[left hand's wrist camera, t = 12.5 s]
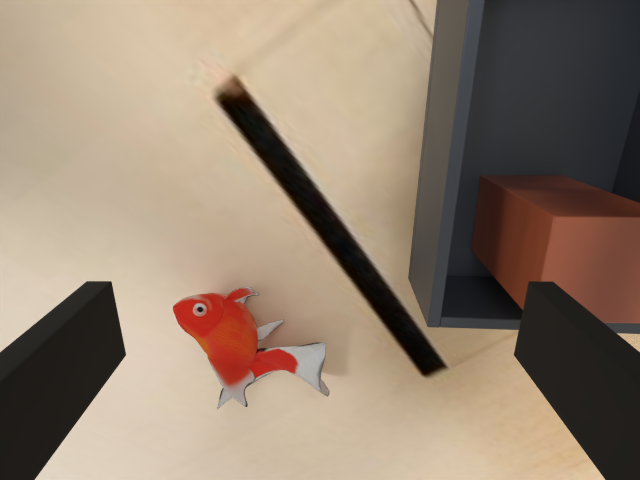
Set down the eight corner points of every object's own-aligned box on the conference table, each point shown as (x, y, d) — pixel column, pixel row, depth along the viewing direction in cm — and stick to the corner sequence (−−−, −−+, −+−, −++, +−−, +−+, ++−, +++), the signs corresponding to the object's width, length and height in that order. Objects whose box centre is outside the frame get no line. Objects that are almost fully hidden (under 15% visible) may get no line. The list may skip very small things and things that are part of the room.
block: (470, 250, 24) (532, 322, 16) (480, 174, 22) (554, 216, 15) (547, 250, 24) (646, 324, 16) (563, 174, 22) (679, 217, 15)
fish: (275, 231, 30) (242, 362, 23) (363, 327, 40) (356, 436, 34) (172, 261, 34) (122, 375, 28) (274, 339, 45) (254, 437, 38)
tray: (408, 278, 25) (427, 327, 20) (465, -275, 17) (526, -445, 11) (589, 283, 25) (657, 335, 20) (743, -276, 16) (938, -450, 11)
